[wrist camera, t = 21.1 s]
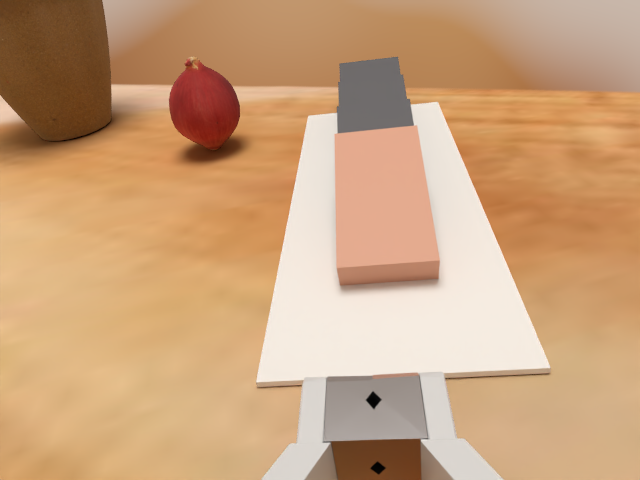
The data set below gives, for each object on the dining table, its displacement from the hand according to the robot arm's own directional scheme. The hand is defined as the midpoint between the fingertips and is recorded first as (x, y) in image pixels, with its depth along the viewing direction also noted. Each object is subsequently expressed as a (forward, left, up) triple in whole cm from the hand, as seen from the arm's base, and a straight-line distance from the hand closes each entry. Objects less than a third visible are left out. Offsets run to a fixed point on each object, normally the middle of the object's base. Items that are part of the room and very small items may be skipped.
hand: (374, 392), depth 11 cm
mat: (+1, +23, -8) cm, 24 cm away
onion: (-13, +34, -8) cm, 37 cm away
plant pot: (-31, +44, -8) cm, 55 cm away
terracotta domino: (+1, +13, -7) cm, 15 cm away
